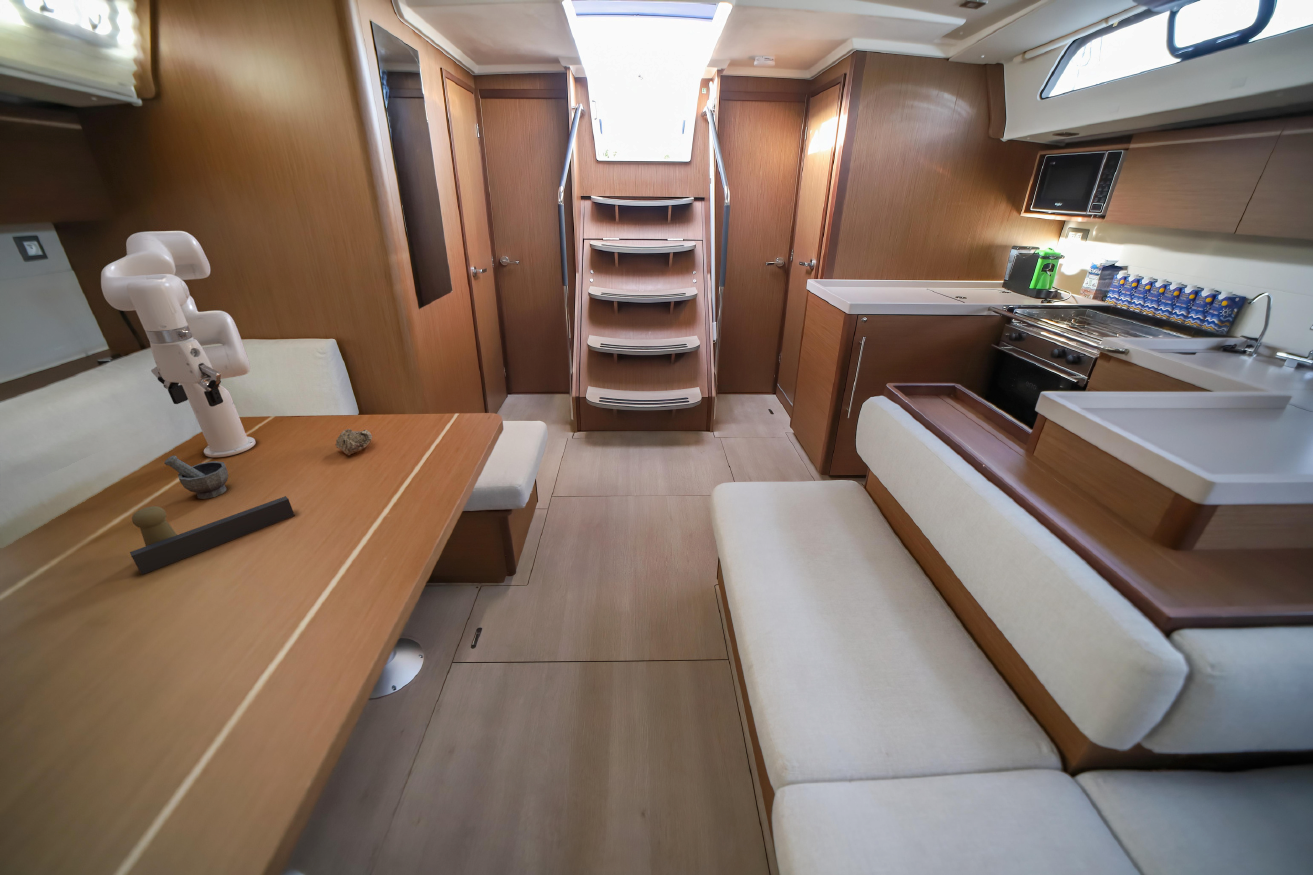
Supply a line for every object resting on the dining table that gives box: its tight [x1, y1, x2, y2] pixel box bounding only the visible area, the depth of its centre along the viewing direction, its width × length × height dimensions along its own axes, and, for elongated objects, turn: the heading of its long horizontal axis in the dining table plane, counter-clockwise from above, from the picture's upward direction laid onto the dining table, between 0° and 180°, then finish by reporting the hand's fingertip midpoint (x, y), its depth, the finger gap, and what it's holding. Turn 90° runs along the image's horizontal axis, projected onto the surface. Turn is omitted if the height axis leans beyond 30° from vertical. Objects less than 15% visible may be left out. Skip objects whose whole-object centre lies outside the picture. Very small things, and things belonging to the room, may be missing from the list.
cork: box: [131, 505, 178, 546], centre depth 109 cm, size 6×6×11 cm
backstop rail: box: [129, 495, 295, 576], centre depth 113 cm, size 2×28×5 cm, turn 140°
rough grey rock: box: [335, 428, 373, 456], centre depth 155 cm, size 11×7×10 cm
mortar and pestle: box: [163, 455, 229, 500], centre depth 130 cm, size 11×9×12 cm
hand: (199, 403), depth 124 cm, fingers open, 9 cm apart
